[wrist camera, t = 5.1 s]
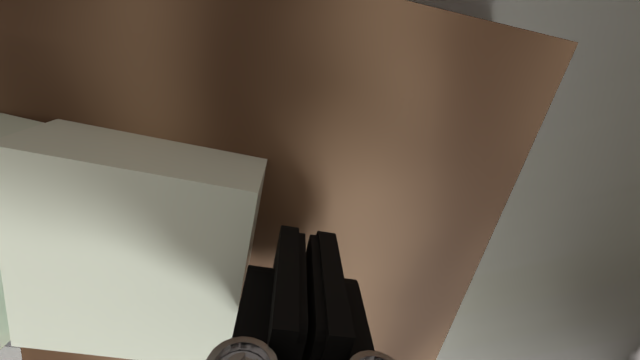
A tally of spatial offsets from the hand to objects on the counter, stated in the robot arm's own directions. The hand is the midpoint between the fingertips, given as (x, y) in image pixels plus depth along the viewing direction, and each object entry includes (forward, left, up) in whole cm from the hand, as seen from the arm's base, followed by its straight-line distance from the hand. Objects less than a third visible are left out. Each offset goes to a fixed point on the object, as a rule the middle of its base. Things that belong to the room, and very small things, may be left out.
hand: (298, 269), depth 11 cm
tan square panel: (+1, 0, -6) cm, 6 cm away
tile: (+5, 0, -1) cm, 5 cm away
